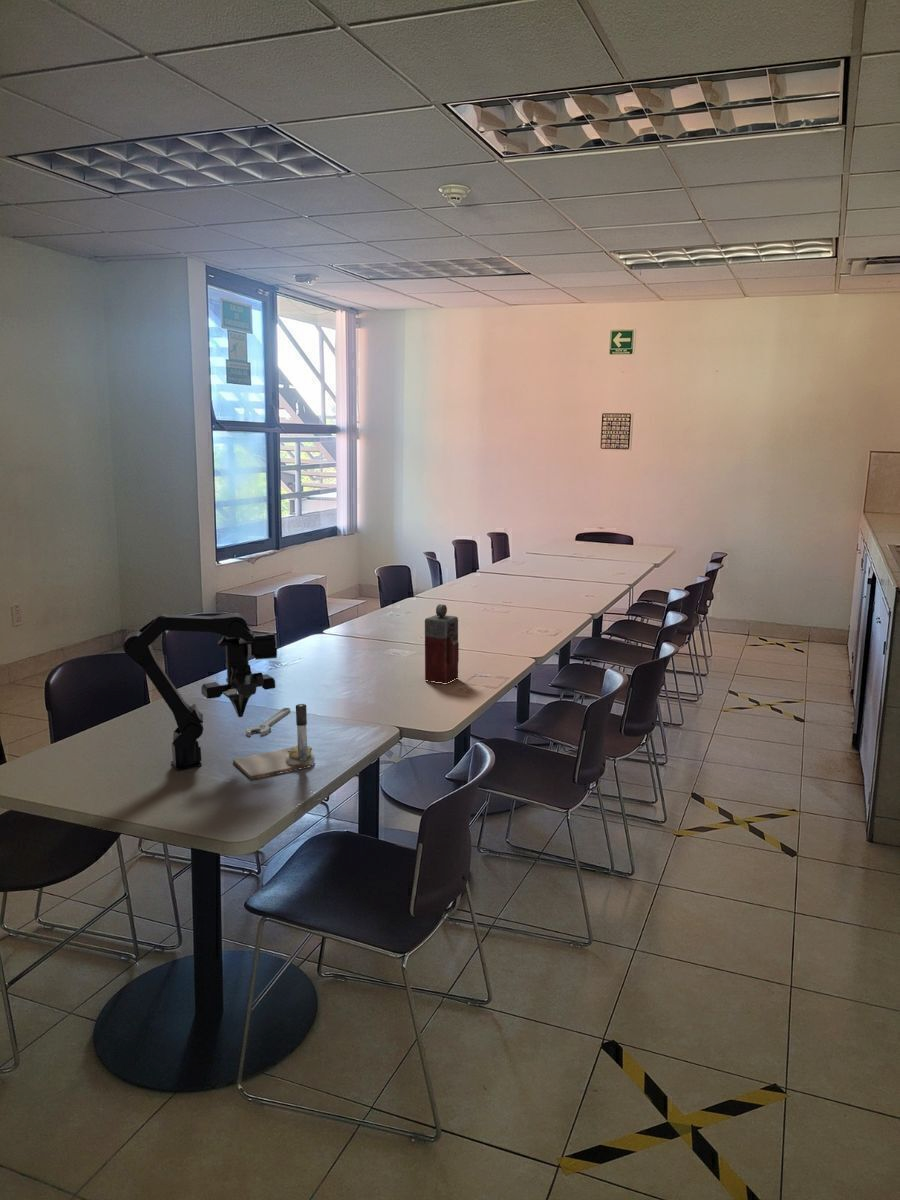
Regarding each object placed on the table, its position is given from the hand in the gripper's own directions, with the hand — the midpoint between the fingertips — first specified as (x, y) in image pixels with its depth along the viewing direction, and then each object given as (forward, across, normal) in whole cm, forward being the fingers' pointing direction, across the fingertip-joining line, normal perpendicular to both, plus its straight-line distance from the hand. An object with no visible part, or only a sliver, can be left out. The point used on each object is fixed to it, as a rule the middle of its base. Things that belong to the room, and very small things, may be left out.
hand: (240, 716), depth 229 cm
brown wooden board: (+12, +6, -8) cm, 16 cm away
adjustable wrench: (+13, +18, +24) cm, 33 cm away
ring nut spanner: (+10, +11, -14) cm, 20 cm away
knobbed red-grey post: (+12, +88, +36) cm, 96 cm away
